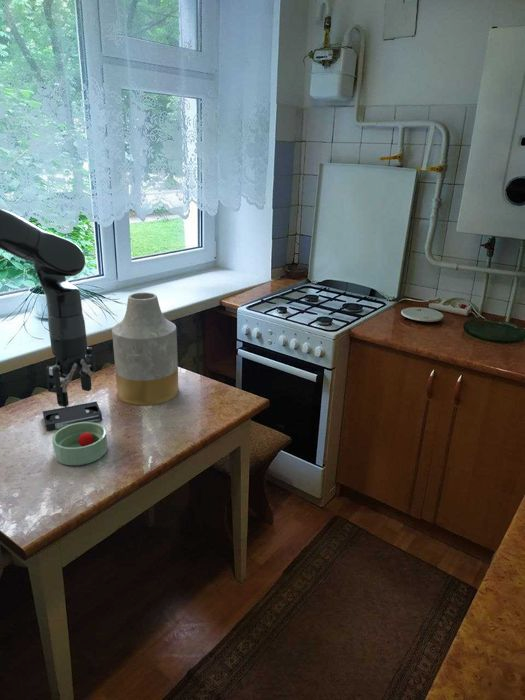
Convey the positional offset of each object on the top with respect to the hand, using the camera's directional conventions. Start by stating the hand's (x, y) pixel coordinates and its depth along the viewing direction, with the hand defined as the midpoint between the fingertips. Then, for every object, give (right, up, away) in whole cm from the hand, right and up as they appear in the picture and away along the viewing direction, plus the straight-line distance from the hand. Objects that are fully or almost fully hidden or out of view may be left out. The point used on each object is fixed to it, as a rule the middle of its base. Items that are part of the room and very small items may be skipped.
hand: (75, 397), depth 115 cm
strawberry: (0, -12, +5) cm, 13 cm away
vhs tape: (-8, -8, +20) cm, 23 cm away
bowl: (-1, -14, +6) cm, 15 cm away
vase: (+8, -2, +37) cm, 38 cm away
